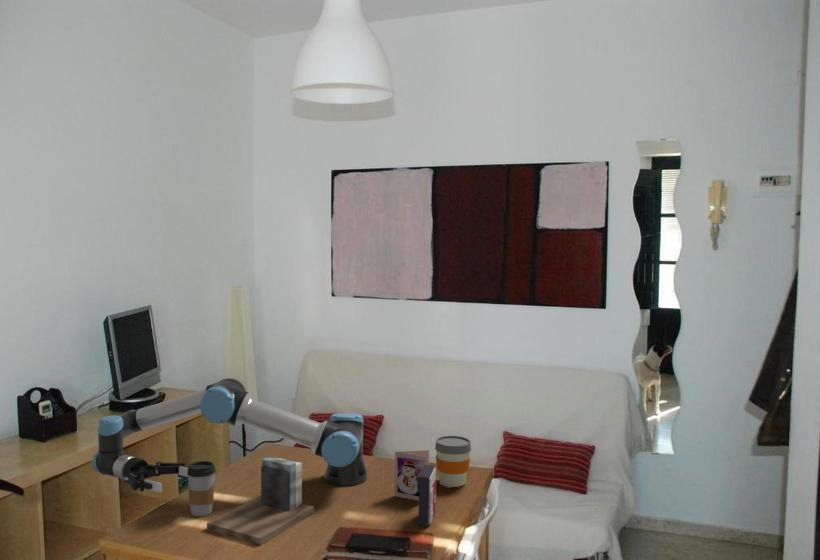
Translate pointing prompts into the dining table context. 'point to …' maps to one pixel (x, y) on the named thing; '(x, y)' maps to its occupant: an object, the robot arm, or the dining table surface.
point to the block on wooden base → (267, 505)
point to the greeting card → (409, 472)
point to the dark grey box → (426, 494)
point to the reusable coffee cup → (452, 460)
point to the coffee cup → (201, 487)
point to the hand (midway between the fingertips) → (178, 480)
